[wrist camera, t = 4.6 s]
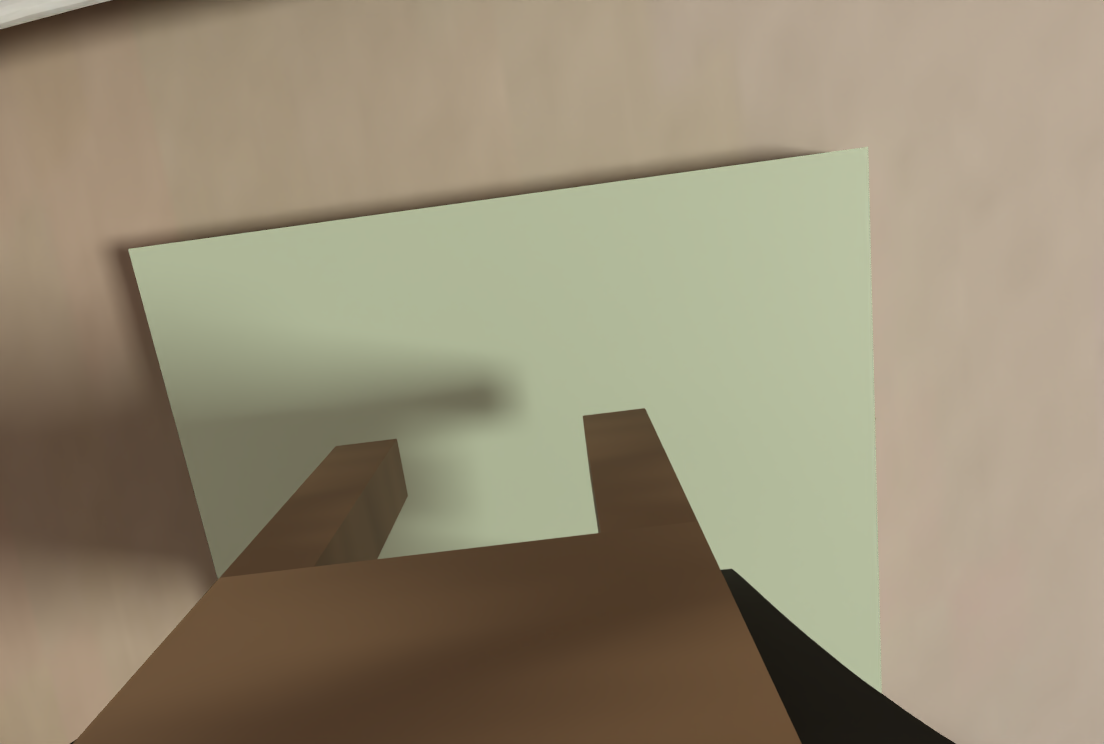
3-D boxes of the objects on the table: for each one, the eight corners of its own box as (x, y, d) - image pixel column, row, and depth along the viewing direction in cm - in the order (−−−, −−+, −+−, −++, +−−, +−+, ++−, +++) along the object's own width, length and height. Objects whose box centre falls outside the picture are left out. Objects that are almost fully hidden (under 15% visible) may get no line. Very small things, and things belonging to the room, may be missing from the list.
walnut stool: (645, 408, 11) (803, 747, 4) (672, 677, 12) (828, 1289, 5) (335, 445, 11) (-9, 835, 4) (392, 709, 12) (194, 1344, 5)
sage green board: (837, 153, 14) (868, 146, 12) (855, 668, 17) (882, 712, 15) (172, 245, 15) (128, 248, 13) (294, 719, 17) (268, 767, 16)
